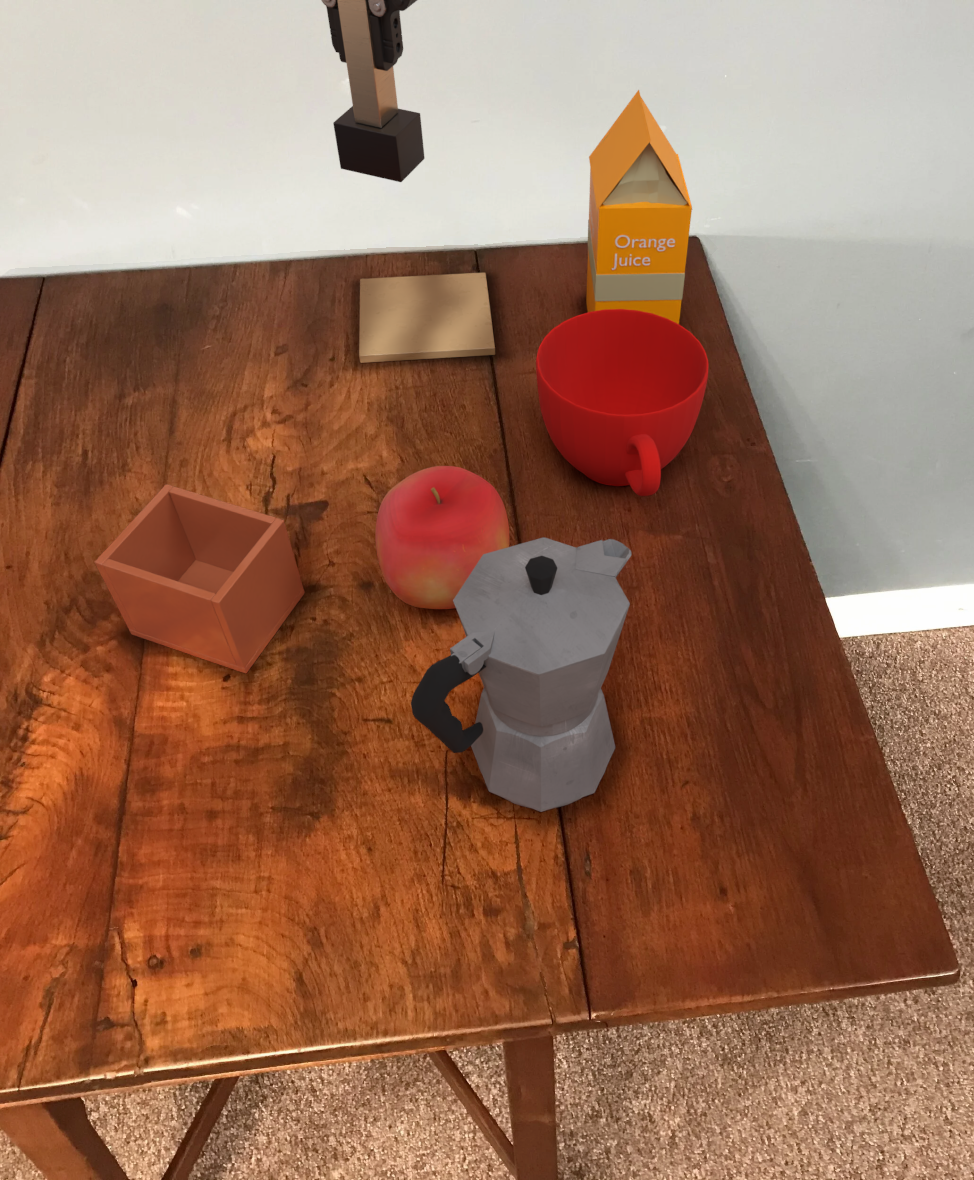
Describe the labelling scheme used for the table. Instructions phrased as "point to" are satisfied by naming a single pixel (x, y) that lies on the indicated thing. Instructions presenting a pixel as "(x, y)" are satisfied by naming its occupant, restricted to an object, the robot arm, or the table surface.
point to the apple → (437, 533)
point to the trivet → (425, 317)
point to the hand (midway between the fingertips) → (369, 61)
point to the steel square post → (373, 108)
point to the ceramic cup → (621, 393)
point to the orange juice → (637, 218)
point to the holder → (203, 577)
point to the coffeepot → (534, 669)
